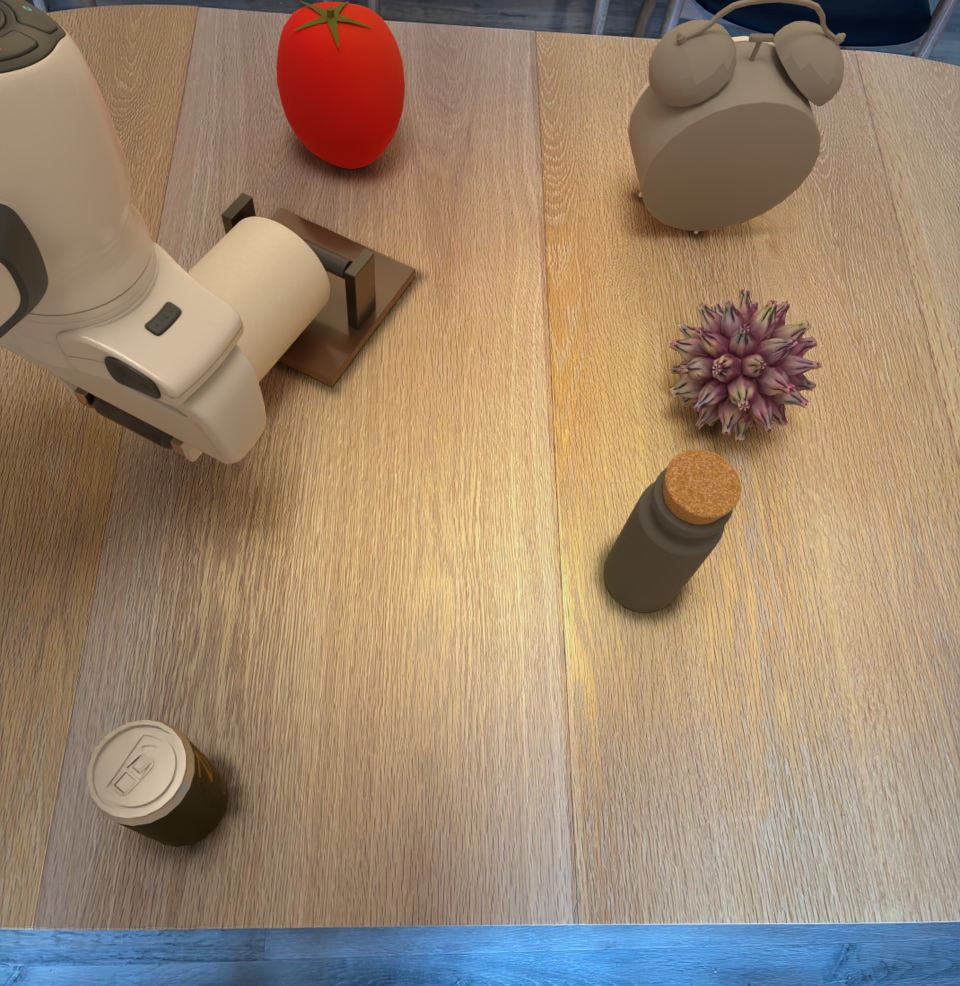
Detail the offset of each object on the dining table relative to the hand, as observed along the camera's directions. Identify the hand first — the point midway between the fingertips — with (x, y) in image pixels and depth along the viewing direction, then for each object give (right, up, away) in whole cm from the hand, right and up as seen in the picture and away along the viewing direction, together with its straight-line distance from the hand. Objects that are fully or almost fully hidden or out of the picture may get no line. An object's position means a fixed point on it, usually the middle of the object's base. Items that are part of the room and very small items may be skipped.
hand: (141, 424), depth 60 cm
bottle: (+36, -11, +5) cm, 38 cm away
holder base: (+8, +12, +15) cm, 21 cm away
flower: (+44, +3, +13) cm, 46 cm away
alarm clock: (+44, +22, +24) cm, 55 cm away
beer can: (+5, -25, -5) cm, 26 cm away
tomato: (+10, +29, +24) cm, 39 cm away
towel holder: (+4, +5, +8) cm, 11 cm away
